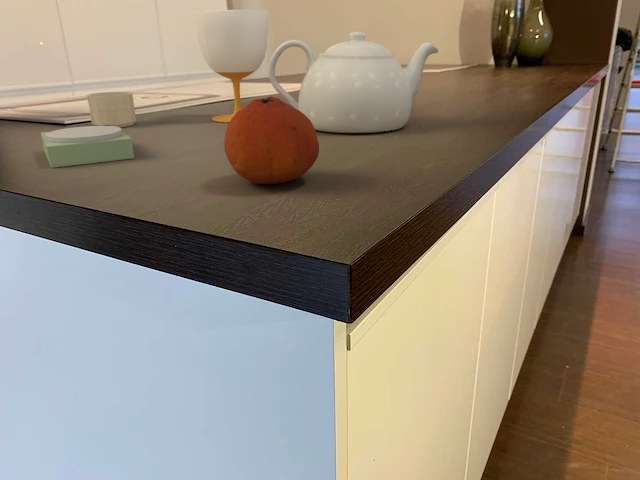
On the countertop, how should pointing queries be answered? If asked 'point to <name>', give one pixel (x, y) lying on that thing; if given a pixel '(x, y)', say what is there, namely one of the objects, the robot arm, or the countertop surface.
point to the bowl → (112, 109)
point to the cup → (233, 45)
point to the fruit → (270, 142)
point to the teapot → (355, 86)
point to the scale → (86, 145)
